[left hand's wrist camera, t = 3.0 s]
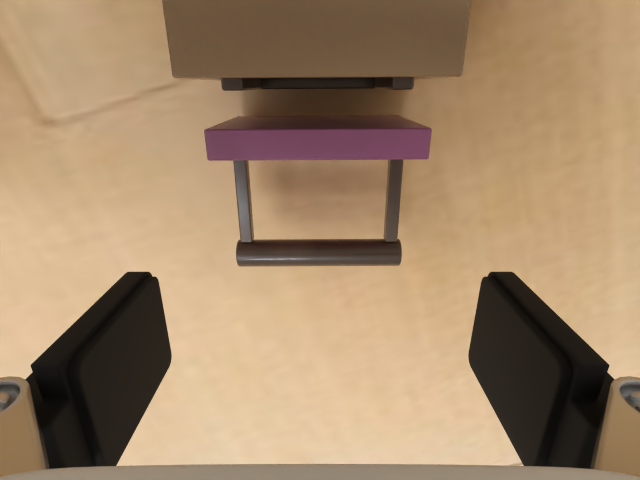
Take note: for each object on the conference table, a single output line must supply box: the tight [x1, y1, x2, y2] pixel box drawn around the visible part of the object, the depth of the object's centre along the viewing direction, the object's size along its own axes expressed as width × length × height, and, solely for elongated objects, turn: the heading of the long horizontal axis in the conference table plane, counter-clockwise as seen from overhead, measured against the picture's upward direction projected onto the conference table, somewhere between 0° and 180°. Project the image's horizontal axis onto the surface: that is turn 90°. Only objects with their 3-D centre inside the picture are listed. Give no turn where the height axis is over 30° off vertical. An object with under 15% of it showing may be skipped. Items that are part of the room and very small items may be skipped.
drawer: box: [204, 77, 431, 266], centre depth 16 cm, size 24×9×7 cm, turn 0°
